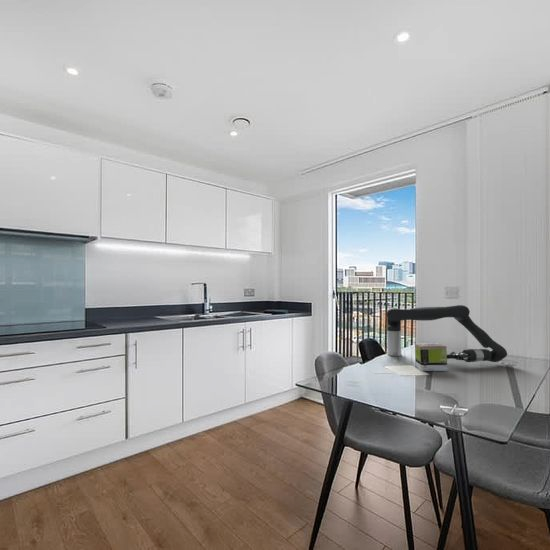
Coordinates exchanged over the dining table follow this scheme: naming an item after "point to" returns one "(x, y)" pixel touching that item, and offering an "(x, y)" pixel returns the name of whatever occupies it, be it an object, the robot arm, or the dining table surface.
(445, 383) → the dining table surface
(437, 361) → the tea box
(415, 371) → the T mat
